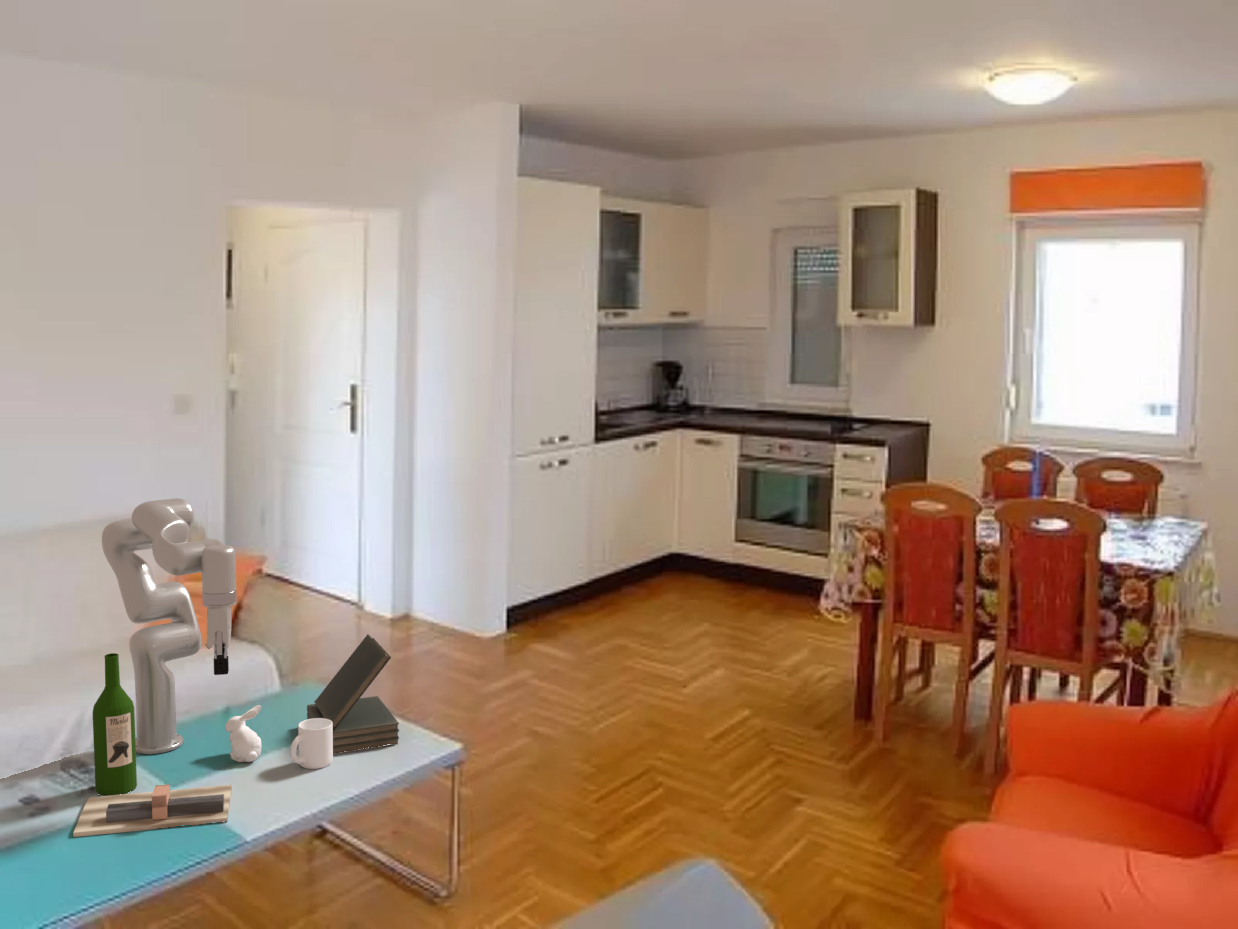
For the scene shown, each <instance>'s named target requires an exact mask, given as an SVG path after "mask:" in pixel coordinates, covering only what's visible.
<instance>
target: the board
mask: <svg viewBox="0 0 1238 929" xmlns="http://www.w3.org/2000/svg"><path fill="white" fill-rule="evenodd" d="M232 785H233V784H226V785H223V784H222V785H215V786H213V785H212V786H202V787H191V788H179V789H170V799H175V798H186V797H198V796H209V795H221V794H224V797H221V798H210V799H200V800H189V801H178V802H168V804H167V819H157V820H152V804H145V805H134V806H123V807H113V808H107V807H108V805H109V804H118V803H129V802H141V801H152V795H153V791H147V792H146V791H145V792H133V793H127V794H121V795H110V796H100V795H98V796H90V797H87V800H86V802H85V804H84V807H83V809H82V811H81V814H80V816H79V818H78V821H77V823H76V826H75V827H74V830H73V832H72V833H73V838H78V837H89V836H98V835H109V834H118V833H128V832H129V833H130V832H141V831H150V830H160V829H159V828H161V829H169V828H168V827H171V828H176V827H175V826H181V827H183V826H182V825H192V826H199V824H202V825H207V824H206V823H212V822H222V823H224V822H223V821H227V822H228V819H229V812H230V806H229V805H230V804H231V797H232V791H233V790H232V789H233V786H232ZM212 824H213V823H212ZM157 828H158V829H157Z"/></svg>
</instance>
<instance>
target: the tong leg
mask: <svg viewBox="0 0 1238 929" xmlns="http://www.w3.org/2000/svg"><path fill="white" fill-rule="evenodd" d="M221 797H224V794H221V795H209V796H198V797H186V798H175V799H169V801H168V802H178V801H189V800H200V799H210V798H221ZM145 804H152V801H141V802H129V803H118V804H109V805H108V807H107V808H113V807H123V806H134V805H145Z"/></svg>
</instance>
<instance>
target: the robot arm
mask: <svg viewBox="0 0 1238 929" xmlns="http://www.w3.org/2000/svg"><path fill="white" fill-rule="evenodd" d="M194 519H195V515H194V509H193V508H192V506H191V504H190V503H189V502H188V501H187V500H185V499H182V498H167V499H157V500H149V501H144V502H142V503H140V504H138V505H137V506H135V508H134V509H133V511H132V513H131V518H125V519H120V520H116V521H113V522H111V523H109V524H107V525H106V526H105V527H104V528H103V530H102V533H101V534H102V535H101V546H102V551H103V554H104V557H105V558H106V560H107V563H108V564H109V566H110V567H111V568H112V569H111V570H112V571H113V572H114V574H115V576H116V577H115V578H116V580H117V583H118V588H119V590H120V595H121V598H122V602H123V606H124V609H125V612H126V616H127V617H128V619H129V621H130V622H132V623H133V624H138V625H139V624H140V625H141V624H148V623H154V622H158V621H163V620H170V621H171V622H168V623H162V624H156V625H151V626H147V627H143V628H140V629H138V630H137V631H134V633H133V634H132V635H131V637H130V639H129V643H128V645H129V652H130V656H131V660H132V665H133V666H132V667H133V674H134V688H135V689H134V690H135V692H134V693H135V715H136V716H135V719H136V720H135V725H136V737H135V743H136V754H140V755H141V754H142V755H155V754H157V755H158V754H162V753H167V752H170V751H174V750H175V749H178V748H179V747H181V746H182V745H183V743H184V737H183V736H182V735H181V734H179V733H178V732H177V706H176V705H177V704H176V702H177V701H176V679H175V676H174V673H173V672H172V671H171V670H170V669H169V668H168V666H166V664H165V663H167V662H171V661H173V660H174V661H175V660H177V659H178V660H179V659H182V658H183V659H184V658H185V657H191V656H193V655H195V654H197V653H199V652H200V649H201V647H202V644H203V642H202V641H203V637H202V633H201V629H200V624H199V622H198V618H197V614H196V610H195V606H194V604H193V601H192V600H193V599H192V597H191V595H190V592H189V590H188V589H187V587H186V586H185V585H184V584H183V583H181V582H178V581H168V582H162V583H160V582H159V583H157V581H156V579H155V577H154V574H153V570H152V567H151V566H150V564H149V563H148V562H147V561H145V559H143V558H142V557H141V556H140V555H138V554H136V553H135V552H136V551H143V550H149V549H151V550H152V555H153V558H154V561H155V563H156V564H157V565H158V566H159V567H160V568H162V569H163V570H164V571H165V572H166V573H168V574H170V575H172V576H178V577H179V576H187V575H192V574H198V573H201V590H202V591H201V592H202V606H203V607H205V608H206V649H208V650H211V649H212V648H213V654H214V655H213V675H215V676H221V675H224V676H225V675H228V674H229V671H230V670H229V668H230V667H229V655H228V648H229V646H230V642H231V637H232V619H233V618H232V607H233V606H235V605H237V602H238V601H237V598H238V597H237V564H236V563H237V561H236V558H237V557H236V554H237V553H236V550H235V548H234V547H233V546H232V545H228V544H224V543H223V542H222V541H221V540H219V539H217V538H209V539H203V540H202V539H201V540H193V541H188V539H189V536H190V532H191V531H190V529H191V527H192V525H193V524H194V521H195V520H194Z"/></svg>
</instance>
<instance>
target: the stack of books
mask: <svg viewBox="0 0 1238 929" xmlns="http://www.w3.org/2000/svg"><path fill="white" fill-rule="evenodd" d="M391 659H392V656H390V654H388V652H387V651H386V649H384V648H383V646H381V645H380V644H379V642H378V641H377V640H376V639H375V638H374V637H373V636H371V635H370V634H369V633H367V634H366V636H365V637H364V638H363V639H362V641H361V642H360V643H359V644H358V646H357V647H356V648H355V650H353V652H352V653H351V654H350V655H349V657H348V659H347V660H346V661H345V662H344V663H343V665H342V666H341V667H340V669H339V670H338V671H337V673H336V674H335V675H334V676H333V678H332V679H331V681H329V682H328V684H327V685H326V686H325V687H324V689H323V690H322V691H321V693H320V694H319V695H318V697H317V698H316V699H315V700H314V703H313V704H307V705H306V720H307V719H313V718H325V719H329V720H331V721H332V723H333V755H335V754H334V753H336V754H341V753H340V752H343V753H345V752H344V751H350V752H355V751H354V750H356V751H359V750H358V749H363V748H364V749H363V750H366V749H365V748H368V747H369V748H370V749H372V748H371V747H376V748H379V747H378V746H383V745H387V744H397V745H398V744H399V739H400V737H399V732H400V729H399V724H400V723H399V722H398V720H397V718H396V717H395V716H394V715H393V714H392V712H391V711H390V710H389V709H388V707H387V706H386V705H385V703H384V702H383V701H382V700H381V699H380V696H378V695H375V696H374V695H373V696H368V697H366V696H365V697H362V696H363V695H364V693H365V692H366V691H367V690H368V688H370V687H369V686H370V685H371V684H372V683H373V682H374V681H375V679H376V678H377V676H378V675H379V674H380V673H381V671H382V670H383V669H384V668H385V666H387V664H388V663H389V661H390V660H391ZM383 747H384V746H383Z"/></svg>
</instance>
